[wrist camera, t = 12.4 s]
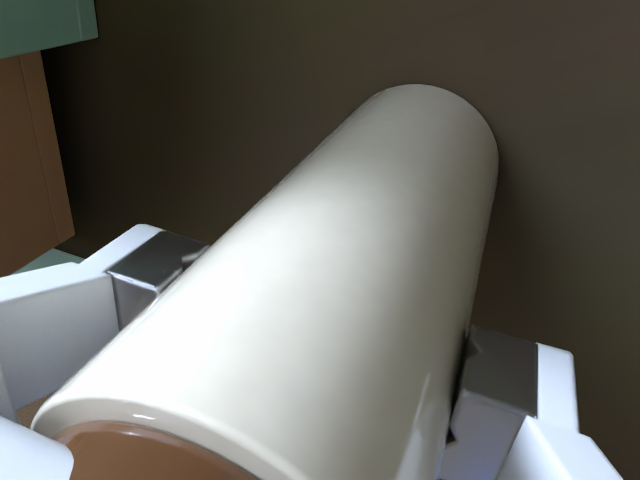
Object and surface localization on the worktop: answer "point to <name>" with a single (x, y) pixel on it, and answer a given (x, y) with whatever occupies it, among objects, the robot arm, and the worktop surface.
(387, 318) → the canister with knobbed lid
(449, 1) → the worktop surface
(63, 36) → the cabinet
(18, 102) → the drawer
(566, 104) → the worktop surface
